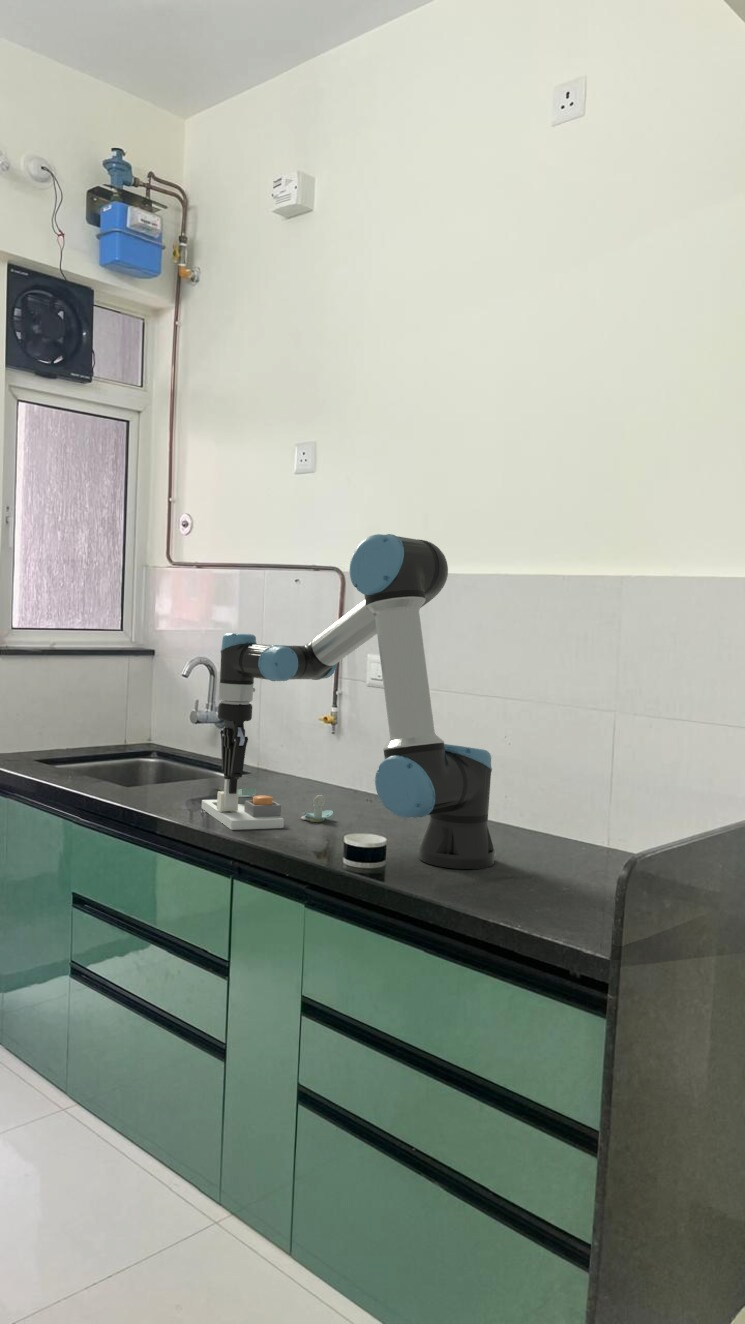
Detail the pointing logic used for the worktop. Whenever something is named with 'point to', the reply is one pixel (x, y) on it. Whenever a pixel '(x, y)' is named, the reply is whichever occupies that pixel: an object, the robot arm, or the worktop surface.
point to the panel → (247, 814)
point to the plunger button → (262, 800)
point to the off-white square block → (221, 799)
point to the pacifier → (317, 811)
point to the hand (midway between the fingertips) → (230, 807)
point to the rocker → (247, 792)
